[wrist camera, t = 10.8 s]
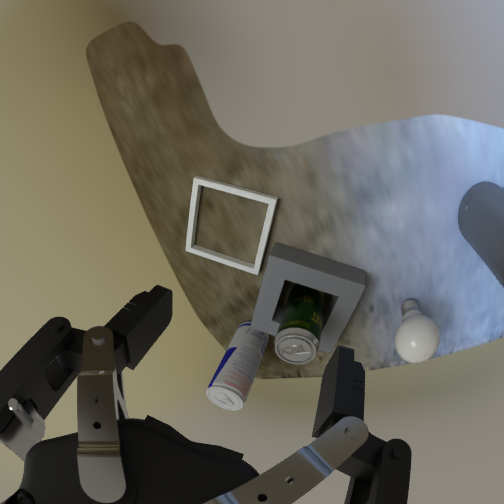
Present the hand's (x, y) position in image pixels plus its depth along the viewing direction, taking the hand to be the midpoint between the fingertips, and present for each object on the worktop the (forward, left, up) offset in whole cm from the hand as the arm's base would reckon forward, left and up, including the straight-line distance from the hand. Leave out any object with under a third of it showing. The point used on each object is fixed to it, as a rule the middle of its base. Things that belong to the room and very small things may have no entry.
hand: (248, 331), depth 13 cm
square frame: (+9, +8, -27) cm, 29 cm away
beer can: (-4, +15, -27) cm, 31 cm away
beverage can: (+2, +26, -27) cm, 37 cm away
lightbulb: (-20, +12, -27) cm, 35 cm away
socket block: (-4, +15, -27) cm, 31 cm away
